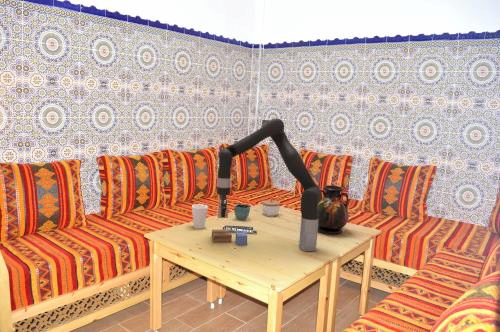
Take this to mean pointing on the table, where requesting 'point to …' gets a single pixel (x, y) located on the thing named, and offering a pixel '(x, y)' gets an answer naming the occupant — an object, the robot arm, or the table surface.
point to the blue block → (241, 238)
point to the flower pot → (242, 211)
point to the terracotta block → (220, 212)
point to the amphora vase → (332, 211)
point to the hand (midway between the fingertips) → (222, 215)
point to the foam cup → (199, 215)
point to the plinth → (221, 236)
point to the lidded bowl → (270, 207)
